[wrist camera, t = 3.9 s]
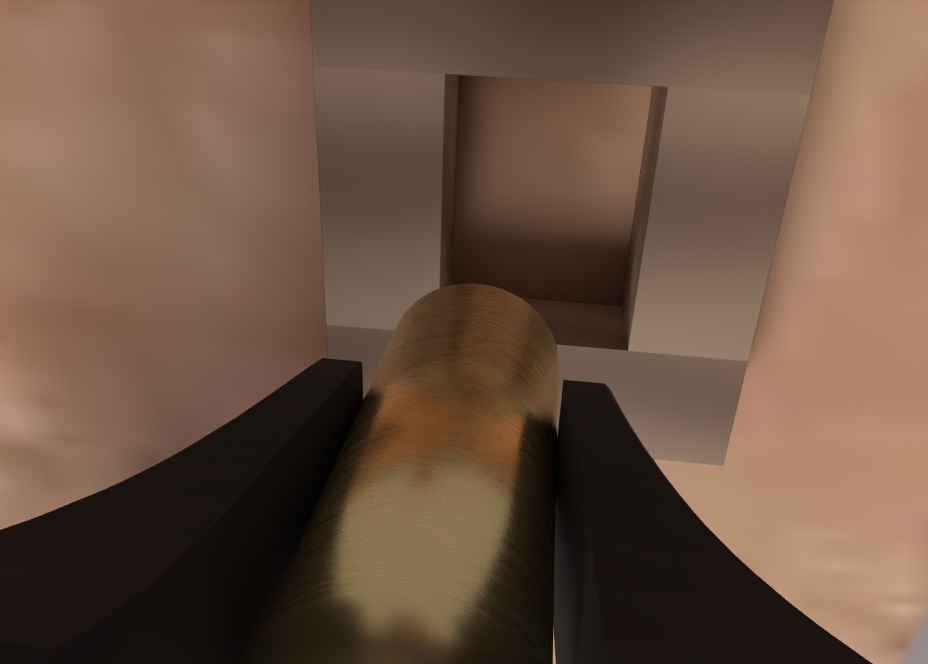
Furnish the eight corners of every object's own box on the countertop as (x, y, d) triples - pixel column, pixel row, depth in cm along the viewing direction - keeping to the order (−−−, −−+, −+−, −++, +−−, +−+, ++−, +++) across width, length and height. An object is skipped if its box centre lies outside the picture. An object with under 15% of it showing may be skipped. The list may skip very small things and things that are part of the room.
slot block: (706, 411, 21) (723, 465, 19) (354, 378, 22) (331, 426, 20) (812, -77, 16) (852, -79, 14) (339, -95, 17) (305, -100, 15)
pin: (538, 446, 14) (516, 832, 8) (381, 413, 14) (239, 769, 8) (576, 303, 13) (585, 635, 7) (401, 267, 13) (252, 561, 7)
